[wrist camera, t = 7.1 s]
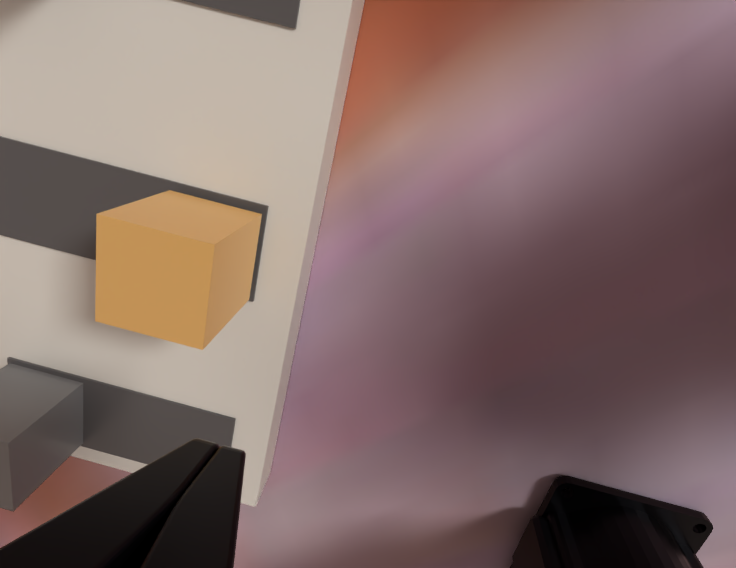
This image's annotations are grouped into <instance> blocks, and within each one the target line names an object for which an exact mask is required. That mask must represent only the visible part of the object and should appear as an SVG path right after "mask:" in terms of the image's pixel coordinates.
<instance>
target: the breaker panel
mask: <svg viewBox="0 0 736 568" xmlns="http://www.w3.org/2000/svg"><path fill="white" fill-rule="evenodd" d="M364 2H365V0H0V508H3V509H7V510H10V511H14V510H15V509H16V508H17V507H18V506H19V505H20V504H21V503H22V502H23V501H24V500H25V499H26V498H27V497H28V496H29V495H31V494H32V493H33V492H34V491H35V490H36V489H37V488H38V487H39V486H40V485H41V484H42V483H43V482H44V481H45V480H46V479H47V478H48V477H49V476H50V475H51V474H52V473H53V472H54V471H55V470H56V469H57V468H58V467H59V466H60V465H61V464H62V463H63V462H64V461H65V460H66V459H67V458H68V457H69V456H73V457H76V458H80V459H84V460H87V461H91V462H95V463H98V464H102V465H105V466H109V467H113V468H116V469H120V470H124V471H127V472H131V473H134V472H135V471H137V470H139V469H141V468H142V467H144V466H146V465H148V464H150V463H151V462H153V461H155V460H157V459H158V458H160V457H162V456H164V455H165V454H167V453H169V452H171V451H172V450H174V449H176V448H178V447H179V446H181V445H183V444H185V443H187V442H188V441H190V440H192V439H195V438H200V439H203V440H207V441H211V442H215V443H217V444H218V445H219V446H220V447H221V446H224V445H226V446H229V447H233V448H237V449H240V450H243V451H245V453H246V458H245V467H244V476H243V485H242V494H241V503H243V504H247V505H250V506H254V507H256V505H257V503H258V500H259V498H260V496H261V493H262V491H263V489H264V486H265V484H266V482H267V479H268V477H269V475H270V472H271V467H272V462H273V457H274V452H275V447H276V442H277V437H278V432H279V427H280V422H281V417H282V412H283V407H284V402H285V397H286V392H287V387H288V382H289V377H290V372H291V367H292V362H293V357H294V352H295V347H296V342H297V337H298V332H299V327H300V322H301V317H302V312H303V307H304V302H305V297H306V292H307V287H308V282H309V277H310V272H311V267H312V262H313V257H314V252H315V247H316V242H317V237H318V232H319V227H320V222H321V217H322V212H323V207H324V202H325V197H326V192H327V187H328V182H329V177H330V172H331V167H332V162H333V157H334V152H335V147H336V142H337V137H338V132H339V127H340V122H341V117H342V112H343V107H344V102H345V97H346V92H347V87H348V82H349V77H350V72H351V67H352V62H353V57H354V52H355V47H356V42H357V37H358V32H359V27H360V22H361V17H362V12H363V7H364ZM169 190H171V191H175V192H179V193H183V194H187V195H191V196H194V197H198V198H202V199H206V200H210V201H214V202H217V203H221V204H225V205H229V206H233V207H237V208H240V209H244V210H248V211H252V212H256V213H260V214H262V217H261V224H260V230H259V237H258V244H257V250H256V257H255V264H254V270H253V277H252V284H251V290H250V297H249V300H248V301H247V302H246V304H245V305H244V306H243V307H242V308H241V309H240V310H239V311H238V312H237V313H236V314H235V316H234V317H233V318H232V319H231V320H230V321H229V322H228V323H227V324H226V325H225V326H224V327H223V329H222V330H221V331H220V332H219V333H218V334H217V335H216V336H215V337H214V338H213V339H212V341H211V342H210V343H209V344H208V345H207V346H206V347H205V348H204V349H203V350H201V349H197V348H193V347H189V346H186V345H182V344H178V343H174V342H171V341H167V340H163V339H160V338H156V337H152V336H148V335H145V334H141V333H137V332H133V331H130V330H126V329H122V328H119V327H115V326H111V325H107V324H104V323H100V322H96V321H95V290H96V214H97V213H100V212H104V211H107V210H110V209H113V208H116V207H119V206H122V205H125V204H128V203H131V202H135V201H138V200H141V199H144V198H147V197H150V196H153V195H156V194H159V193H162V192H166V191H169Z"/></svg>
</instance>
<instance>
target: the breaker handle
mask: <svg viewBox="0 0 736 568" xmlns="http://www.w3.org/2000/svg"><path fill="white" fill-rule="evenodd" d="M261 217H262V214H260V213H256V212H252V211H248V210H244V209H240V208H237V207H233V206H229V205H225V204H221V203H217V202H214V201H210V200H206V199H202V198H198V197H194V196H191V195H187V194H183V193H179V192H175V191H171V190H169V191H166V192H162V193H159V194H156V195H153V196H150V197H147V198H144V199H141V200H138V201H135V202H131V203H128V204H125V205H122V206H119V207H116V208H113V209H110V210H107V211H104V212H100V213H97V214H96V290H95V321H96V322H100V323H104V324H107V325H111V326H115V327H119V328H122V329H126V330H130V331H133V332H137V333H141V334H145V335H148V336H152V337H156V338H160V339H163V340H167V341H171V342H174V343H178V344H182V345H186V346H189V347H193V348H197V349H201V350H203V349H204V348H205V347H206V346H207V345H208V344H209V343H210V342H211V341H212V339H213V338H214V337H215V336H216V335H217V334H218V333H219V332H220V331H221V330H222V329H223V327H224V326H225V325H226V324H227V323H228V322H229V321H230V320H231V319H232V318H233V317H234V316H235V314H236V313H237V312H238V311H239V310H240V309H241V308H242V307H243V306H244V305H245V304H246V302H247V301H248V300H249V297H250V290H251V284H252V277H253V270H254V264H255V257H256V250H257V244H258V237H259V230H260V224H261Z"/></svg>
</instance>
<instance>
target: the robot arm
mask: <svg viewBox="0 0 736 568" xmlns="http://www.w3.org/2000/svg"><path fill="white" fill-rule="evenodd" d="M245 458H246V453H245V451H243V450H240V449H237V448H233V447H229V446H226V445H224V446H221V447H220V446H219V445H218V444H217V443H215V442H211V441H207V440H203V439H200V438H195V439H192V440H190V441H188V442H187V443H185V444H183V445H181V446H179V447H178V448H176V449H174V450H172V451H171V452H169V453H167V454H165V455H164V456H162V457H160V458H158V459H157V460H155V461H153V462H151V463H150V464H148V465H146V466H144V467H142V468H141V469H139V470H137V471H135V472H134V473H132V474H130V475H128V476H127V477H125V478H123V479H121V480H120V481H118V482H116V483H114V484H113V485H111V486H109V487H107V488H106V489H104V490H102V491H100V492H98V493H97V494H95V495H93V496H91V497H90V498H88V499H86V500H84V501H83V502H81V503H79V504H77V505H76V506H74V507H72V508H70V509H69V510H67V511H65V512H63V513H61V514H60V515H58V516H56V517H54V518H53V519H51V520H49V521H47V522H46V523H44V524H42V525H40V526H39V527H37V528H35V529H33V530H32V531H30V532H28V533H26V534H25V535H23V536H21V537H19V538H17V539H16V540H14V541H12V542H10V543H9V544H7V545H5V546H3V547H2V548H0V568H233V567H234V558H235V549H236V540H237V531H238V521H239V512H240V503H241V494H242V485H243V476H244V467H245ZM565 488H569V489H568V490H563V489H565ZM712 530H713V525H712V523H711V522H710V520H709V519H708V518H707V516H706V515H705V514H704V513H702V512H699V511H695V510H692V509H688V508H684V507H681V506H677V505H673V504H669V503H666V502H662V501H658V500H655V499H651V498H647V497H643V496H640V495H636V494H632V493H629V492H625V491H621V490H618V489H614V488H610V487H606V486H603V485H599V484H595V483H592V482H588V481H584V480H580V479H577V478H573V477H569V476H562V477H559V478H557V479H555V481H554V482H553V483H552V485H551V487H550V489H549V491H548V493H547V495H546V497H545V499H544V501H543V503H542V505H541V507H540V509H539V511H538V513H537V515H535V516H534V517H533V518H532V519H531V520H530V522H529V524H528V526H527V528H526V530H525V532H524V534H523V536H522V538H521V540H520V542H519V544H518V546H517V548H516V550H515V552H514V554H513V563H512V565H511V567H510V568H703V566H702V564H701V563H700V561H699V559H698V558H697V556H696V553H697V552H698V550H699V549H700V548H701V546H702V545H703V543H704V542H705V541H706V539H707V538H708V536H709V535H710V533H711V532H712Z"/></svg>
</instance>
